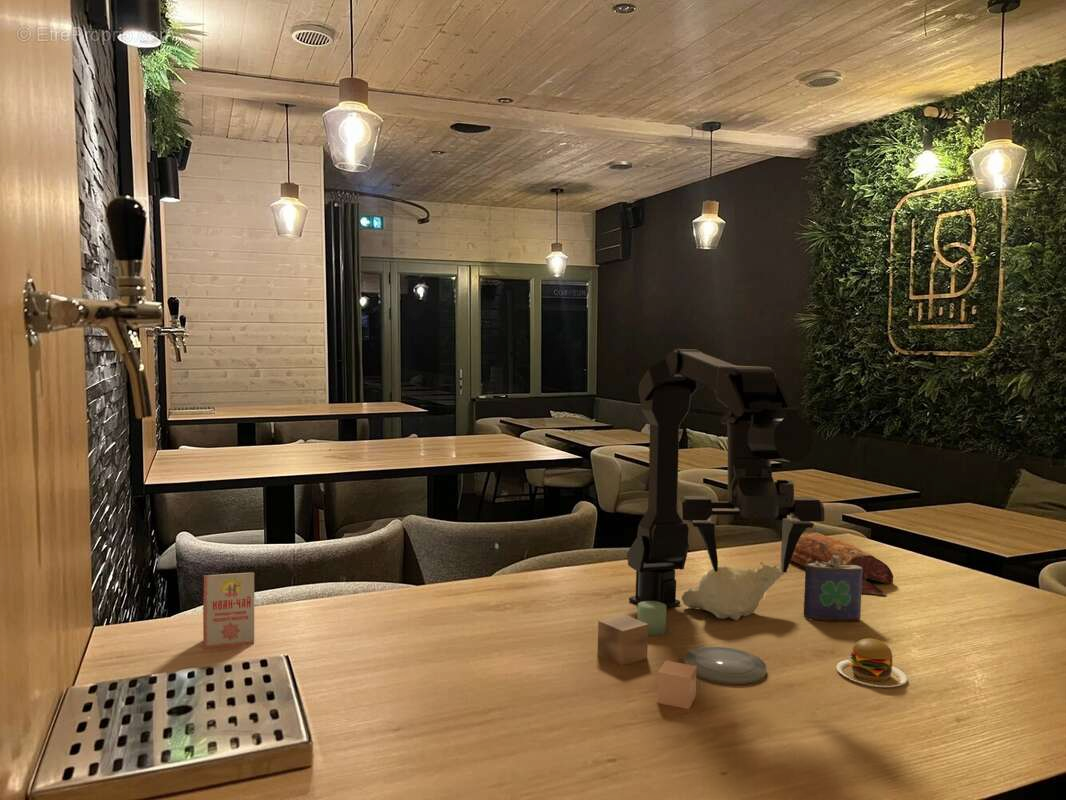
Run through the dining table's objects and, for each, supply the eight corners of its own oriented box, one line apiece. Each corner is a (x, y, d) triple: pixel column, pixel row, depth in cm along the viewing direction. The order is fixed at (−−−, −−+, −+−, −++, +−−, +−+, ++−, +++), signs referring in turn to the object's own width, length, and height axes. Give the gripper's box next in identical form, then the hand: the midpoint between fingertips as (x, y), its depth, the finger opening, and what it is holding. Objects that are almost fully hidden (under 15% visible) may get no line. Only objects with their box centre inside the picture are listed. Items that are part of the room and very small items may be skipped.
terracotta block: (656, 703, 98) (658, 672, 98) (664, 690, 102) (665, 660, 102) (689, 709, 97) (690, 678, 97) (695, 696, 100) (696, 666, 100)
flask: (857, 617, 132) (860, 553, 131) (863, 623, 129) (867, 558, 128) (801, 615, 132) (804, 552, 132) (806, 621, 129) (809, 556, 129)
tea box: (205, 639, 116) (205, 572, 115) (254, 635, 118) (254, 569, 117) (203, 648, 112) (203, 579, 111) (254, 644, 114) (253, 576, 114)
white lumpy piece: (680, 634, 128) (754, 590, 121) (664, 593, 132) (734, 548, 125) (731, 642, 138) (803, 602, 131) (715, 603, 142) (783, 562, 135)
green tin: (631, 629, 124) (632, 604, 124) (651, 623, 127) (651, 599, 126) (651, 637, 120) (652, 611, 120) (671, 631, 123) (672, 606, 123)
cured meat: (834, 600, 141) (837, 562, 141) (764, 562, 166) (766, 530, 165) (922, 598, 145) (924, 561, 145) (840, 561, 170) (843, 530, 169)
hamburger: (864, 703, 101) (866, 661, 100) (806, 666, 112) (808, 628, 112) (940, 694, 104) (943, 653, 104) (876, 659, 116) (878, 622, 115)
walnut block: (597, 654, 113) (598, 620, 113) (622, 647, 116) (623, 614, 116) (621, 666, 109) (622, 631, 109) (647, 658, 112) (648, 624, 112)
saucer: (667, 663, 111) (667, 656, 111) (719, 646, 117) (719, 640, 117) (730, 691, 102) (731, 684, 102) (782, 671, 109) (782, 665, 109)
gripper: (686, 461, 101) (687, 583, 101) (836, 461, 100) (837, 585, 100) (678, 456, 113) (678, 566, 112) (812, 456, 111) (813, 568, 111)
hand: (749, 571), depth 108 cm, fingers open, 9 cm apart
